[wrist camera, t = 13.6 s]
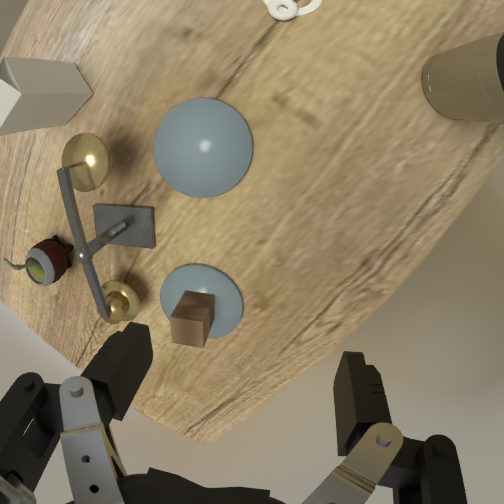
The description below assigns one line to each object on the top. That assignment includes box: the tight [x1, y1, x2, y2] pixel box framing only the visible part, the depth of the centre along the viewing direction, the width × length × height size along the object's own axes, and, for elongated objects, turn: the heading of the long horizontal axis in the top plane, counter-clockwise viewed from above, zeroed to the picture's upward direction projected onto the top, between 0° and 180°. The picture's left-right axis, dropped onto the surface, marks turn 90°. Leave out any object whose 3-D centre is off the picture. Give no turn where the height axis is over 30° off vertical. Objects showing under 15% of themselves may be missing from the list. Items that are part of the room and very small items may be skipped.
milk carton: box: [0, 57, 93, 136], centre depth 28 cm, size 7×7×19 cm
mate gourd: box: [4, 235, 74, 286], centre depth 41 cm, size 8×8×15 cm
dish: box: [160, 263, 243, 338], centre depth 47 cm, size 13×13×1 cm
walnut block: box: [170, 290, 215, 348], centre depth 44 cm, size 4×4×7 cm
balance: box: [57, 133, 155, 324], centre depth 38 cm, size 10×28×14 cm, turn 176°
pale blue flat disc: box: [153, 98, 253, 198], centre depth 38 cm, size 13×13×1 cm
